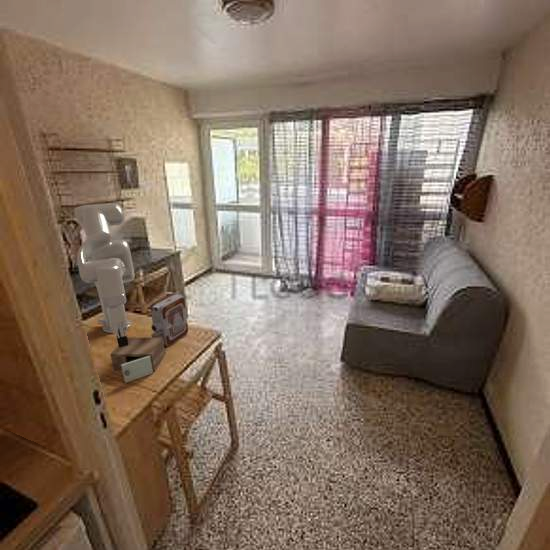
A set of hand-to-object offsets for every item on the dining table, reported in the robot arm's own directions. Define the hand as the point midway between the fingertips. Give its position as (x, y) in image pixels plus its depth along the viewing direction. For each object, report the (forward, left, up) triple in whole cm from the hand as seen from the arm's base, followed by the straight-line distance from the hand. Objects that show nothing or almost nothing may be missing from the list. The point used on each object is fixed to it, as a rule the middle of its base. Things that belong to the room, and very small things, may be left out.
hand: (123, 345), depth 120 cm
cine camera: (+6, +25, -14) cm, 29 cm away
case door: (+4, -1, -14) cm, 14 cm away
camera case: (0, +9, -14) cm, 16 cm away
